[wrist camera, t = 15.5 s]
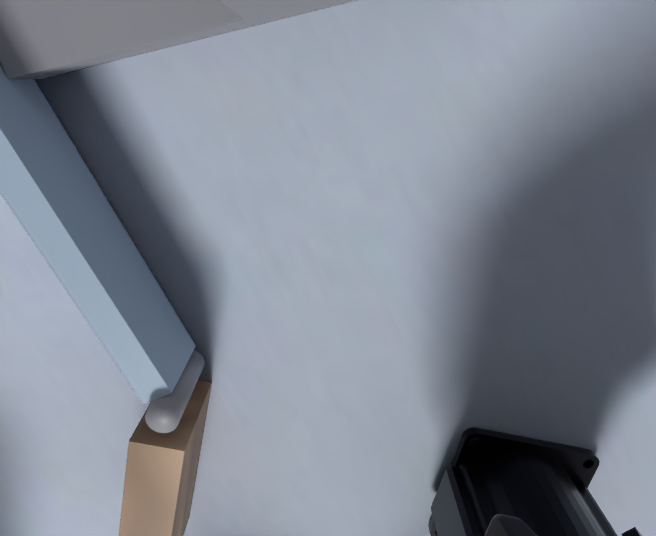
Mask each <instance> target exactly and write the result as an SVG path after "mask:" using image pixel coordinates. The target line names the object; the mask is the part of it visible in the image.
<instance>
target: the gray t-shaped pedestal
mask: <svg viewBox="0 0 656 536" xmlns="http://www.w3.org/2000/svg"><path fill="white" fill-rule="evenodd" d="M352 1H356V0H0V61H1V63H2V66H3V68H4V71H5V73H6V75H7V78H8V79H43V78H47V77H51V76H55V75H59V74H63V73H67V72H71V71H75V70H79V69H83V68H87V67H91V66H95V65H99V64H104V63H108V62H112V61H116V60H120V59H124V58H128V57H132V56H136V55H140V54H144V53H148V52H152V51H156V50H160V49H164V48H168V47H172V46H176V45H180V44H184V43H188V42H192V41H196V40H200V39H204V38H208V37H212V36H216V35H220V34H224V33H228V32H232V31H236V30H240V29H244V28H248V27H252V26H256V25H260V24H264V23H268V22H272V21H276V20H280V19H284V18H288V17H292V16H296V15H300V14H304V13H308V12H312V11H316V10H320V9H324V8H328V7H332V6H336V5H340V4H344V3H348V2H352Z"/></svg>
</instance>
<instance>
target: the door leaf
mask: <svg viewBox="0 0 656 536" xmlns="http://www.w3.org/2000/svg"><path fill="white" fill-rule="evenodd" d="M0 194H1V195H2V197H3V198H4V200H5V201H6V203H7V204H8V206H9V207H10V209H11V210H12V212H13V213H14V215H15V216H16V218H17V219H18V220H19V222H20V223H21V225H22V226H23V228H24V229H25V231H26V232H27V234H28V235H29V237H30V238H31V240H32V241H33V243H34V244H35V246H36V247H37V249H38V250H39V252H40V253H41V254H42V256H43V257H44V259H45V260H46V262H47V263H48V265H49V266H50V268H51V269H52V271H53V272H54V274H55V275H56V277H57V278H58V280H59V281H60V283H61V284H62V285H63V287H64V288H65V290H66V291H67V293H68V294H69V296H70V297H71V299H72V300H73V302H74V303H75V305H76V306H77V308H78V309H79V311H80V312H81V314H82V315H83V316H84V318H85V319H86V321H87V322H88V324H89V325H90V327H91V328H92V330H93V331H94V333H95V334H96V336H97V337H98V339H99V340H100V342H101V343H102V345H103V346H104V348H105V349H106V350H107V352H108V353H109V355H110V356H111V358H112V359H113V361H114V362H115V364H116V365H117V367H118V368H119V370H120V371H121V373H122V374H123V376H124V377H125V379H126V380H127V381H128V383H129V384H130V386H131V387H132V389H133V390H134V392H135V393H136V395H137V396H138V398H139V399H140V401H141V402H142V404H146V403H148V402H151V401H152V403H151V405H150V407H149V409H148V410H147V412H146V415H145V420H146V423H147V425H148V426H149V427H150V428H151V429H152V430H154V431H156V432H159V433H169V432H171V431H173V430H175V429H176V428H177V426H178V424H179V422H180V419H181V417H182V415H183V413H184V410H185V408H186V406H187V404H188V401H189V399H190V397H191V395H192V392H193V390H194V388H195V386H196V383H197V381H198V379H199V377H200V374H201V372H202V370H203V368H204V365H205V361H204V358H203V356H202V355H201V354H200V353H199V352H198V351H195V350H194V349H195V347H196V345H195V344H194V342H193V340H192V339H191V337H190V335H189V334H188V332H187V331H186V329H185V327H184V326H183V324H182V322H181V321H180V319H179V317H178V316H177V314H176V312H175V311H174V309H173V307H172V306H171V304H170V303H169V301H168V299H167V298H166V296H165V294H164V293H163V291H162V289H161V288H160V286H159V284H158V283H157V281H156V279H155V278H154V276H153V275H152V273H151V271H150V270H149V268H148V266H147V265H146V263H145V261H144V260H143V258H142V256H141V255H140V253H139V251H138V250H137V248H136V246H135V245H134V243H133V242H132V240H131V238H130V237H129V235H128V233H127V232H126V230H125V228H124V227H123V225H122V223H121V222H120V220H119V218H118V217H117V215H116V214H115V212H114V210H113V209H112V207H111V205H110V204H109V202H108V200H107V199H106V197H105V195H104V194H103V192H102V190H101V189H100V187H99V186H98V184H97V182H96V181H95V179H94V177H93V176H92V174H91V172H90V171H89V169H88V167H87V166H86V164H85V162H84V161H83V159H82V158H81V156H80V154H79V153H78V151H77V149H76V148H75V146H74V144H73V143H72V141H71V139H70V138H69V136H68V134H67V133H66V131H65V130H64V128H63V126H62V125H61V123H60V121H59V120H58V118H57V116H56V115H55V113H54V111H53V110H52V108H51V106H50V105H49V103H48V101H47V100H46V98H45V97H44V95H43V93H42V92H41V90H40V88H39V87H38V85H37V83H36V82H35V80H34V79H8V78H7V75H6V73H5V71H4V68H3V66H2V63H1V61H0Z"/></svg>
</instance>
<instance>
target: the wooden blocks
mask: <svg viewBox="0 0 656 536" xmlns="http://www.w3.org/2000/svg"><path fill="white" fill-rule="evenodd" d="M211 384H212V382H208V381H202V380H198V381H197V383H196V386H195V388H194V390H193V392H192V395H191V397H190V399H189V401H188V404H187V406H186V408H185V410H184V413H183V415H182V417H181V419H180V422H179V424H178V426H177V428H176V429H175V430H173V431H171V432H169V433H159V432H156V431H154V430H152V429H151V428H150V427H149V426H148V425H147V423H146V420H145V415H146V412H147V410H148V409H149V407H150V405H151V403H152V401H151V403H150V405H149V406H148V408H147V410H146V412H145V414H144V415H143V417H142V419H141V421H140V422H139V424H138V426H137V428H136V430H135V431H134V433H133V435H132V437H131V438H130V440H129V445H128V454H127V464H126V473H125V482H124V492H123V501H122V510H121V519H120V529H119V536H183V535H184V532H185V528H186V525H187V522H188V519H189V515H190V509H191V503H192V497H193V491H194V485H195V479H196V473H197V467H198V461H199V455H200V449H201V443H202V437H203V431H204V426H205V420H206V414H207V408H208V402H209V396H210V390H211Z"/></svg>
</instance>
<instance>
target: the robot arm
mask: <svg viewBox="0 0 656 536" xmlns="http://www.w3.org/2000/svg"><path fill="white" fill-rule="evenodd" d="M473 438H478V439H477V440H475V441H471V439H473ZM586 460H588V461H587V462H584V461H586ZM598 466H599V459H598V458H597V456H596V455H595V454H594V453H593V451H591V450H588V449H583V448H578V447H573V446H568V445H562V444H557V443H552V442H547V441H541V440H536V439H531V438H526V437H521V436H515V435H510V434H505V433H500V432H495V431H489V430H484V429H479V428H470V429H468V430H466V431H465V432H464V433H463V435H462V438H461V440H460V443H459V446H458V448H457V451H456V454H455V456H454V459H453V461H452V464H451V466H449V467H448V468H447V469H446V470H445V472H444V475H443V477H442V480H441V482H440V485H439V488H438V490H437V493H436V496H435V498H434V501H433V504H432V506H431V510H432V517H431V519H430V522H429V531H430V534H431V536H617V534H616V533H615V531H614V530H613V528H612V526H611V525H610V523H609V522H608V520H607V519H606V517H605V515H604V514H603V512H602V511H601V509H600V508H599V506H598V505H597V503H596V501H595V500H594V498H593V497H592V495H591V494H590V492H589V490H588V489H587V488H588V486H589V484H590V482H591V480H592V478H593V476H594V474H595V472H596V470H597V468H598ZM622 536H642V535H641V534H640V533H639V531H638V530H637V529H636V528H635V527H634V528H632V529H630V530H628V531H626V532H625V533H623V534H622Z"/></svg>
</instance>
